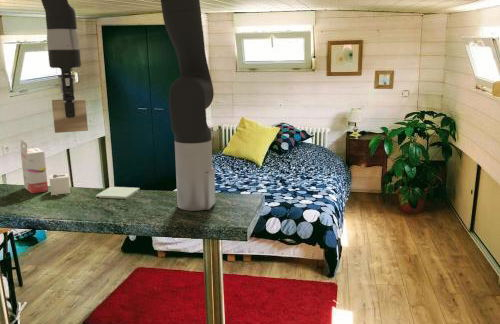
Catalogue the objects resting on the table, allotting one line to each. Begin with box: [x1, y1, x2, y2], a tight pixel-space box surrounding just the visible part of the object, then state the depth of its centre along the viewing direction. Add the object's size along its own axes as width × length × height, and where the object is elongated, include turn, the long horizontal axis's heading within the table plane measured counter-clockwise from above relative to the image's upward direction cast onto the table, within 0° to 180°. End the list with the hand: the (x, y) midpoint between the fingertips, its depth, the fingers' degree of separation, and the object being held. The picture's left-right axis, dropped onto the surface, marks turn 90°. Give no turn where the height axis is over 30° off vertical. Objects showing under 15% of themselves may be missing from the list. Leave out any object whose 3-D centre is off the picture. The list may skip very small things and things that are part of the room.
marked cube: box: [49, 173, 71, 197], centre depth 139 cm, size 5×5×5 cm
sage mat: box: [95, 186, 141, 200], centre depth 138 cm, size 9×9×1 cm
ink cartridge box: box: [20, 139, 49, 194], centre depth 142 cm, size 9×5×15 cm, turn 37°
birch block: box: [51, 98, 89, 134], centre depth 126 cm, size 4×8×8 cm, turn 111°
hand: (70, 116), depth 126 cm, fingers closed on birch block, 4 cm apart
